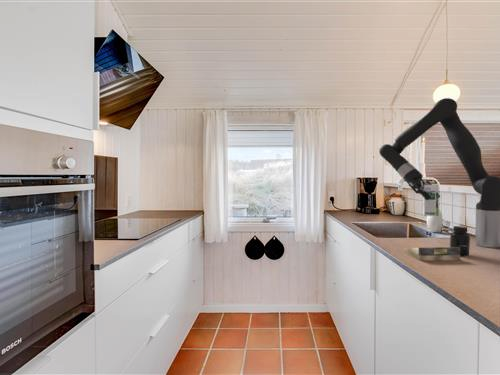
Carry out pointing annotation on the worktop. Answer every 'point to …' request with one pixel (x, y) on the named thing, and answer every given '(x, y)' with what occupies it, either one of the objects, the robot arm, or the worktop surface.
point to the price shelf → (434, 253)
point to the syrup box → (431, 201)
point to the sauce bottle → (435, 222)
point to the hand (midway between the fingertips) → (433, 198)
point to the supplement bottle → (460, 240)
